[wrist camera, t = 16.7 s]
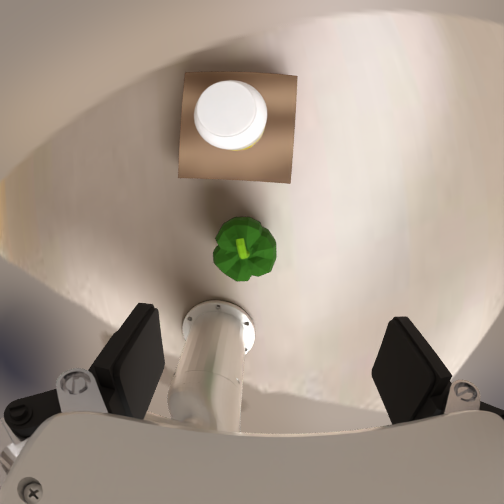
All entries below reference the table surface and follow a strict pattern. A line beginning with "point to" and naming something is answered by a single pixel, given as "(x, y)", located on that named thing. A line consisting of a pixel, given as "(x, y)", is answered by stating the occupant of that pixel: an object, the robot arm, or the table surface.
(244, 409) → the table surface
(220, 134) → the supplement bottle
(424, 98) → the table surface
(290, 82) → the walnut block
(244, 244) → the bell pepper
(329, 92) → the table surface
